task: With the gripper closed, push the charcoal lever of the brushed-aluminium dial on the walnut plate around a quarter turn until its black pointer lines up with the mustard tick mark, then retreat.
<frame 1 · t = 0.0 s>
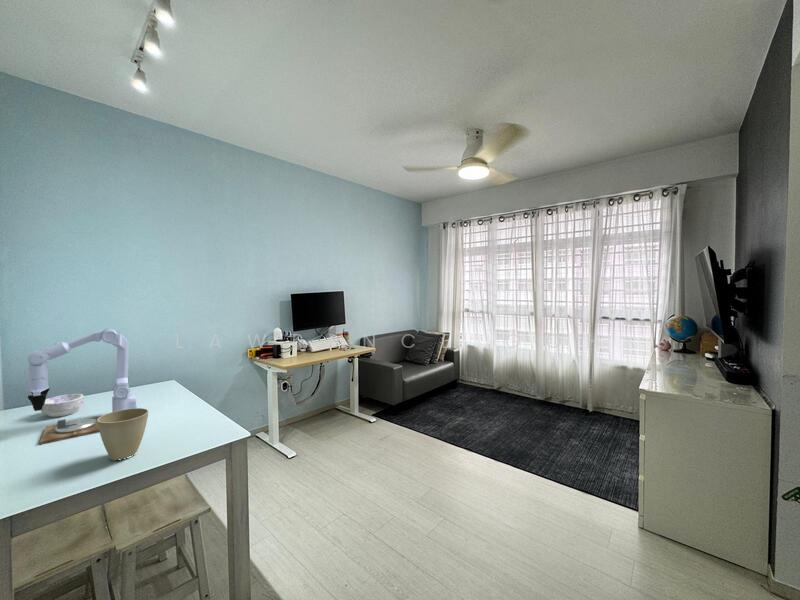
hand: (39, 408, 145), 10 cm above the table, fingers open, 7 cm apart
plate: (76, 429, 146), on the table
plant pot: (124, 456, 124), on the table
dial: (76, 422, 146), point 3 cm above the table, hinge at 0.0°
paper bowls: (63, 414, 165), on the table
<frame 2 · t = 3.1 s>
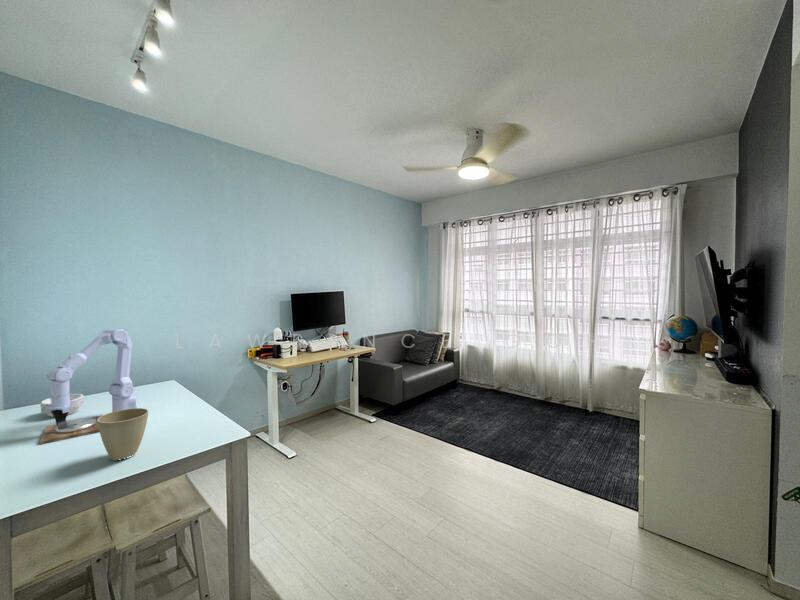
hand: (61, 425, 143), 3 cm above the table, fingers closed, pressing on dial
dial: (76, 422, 146), point 3 cm above the table, hinge at 19.9°, touching gripper
everything else where it was.
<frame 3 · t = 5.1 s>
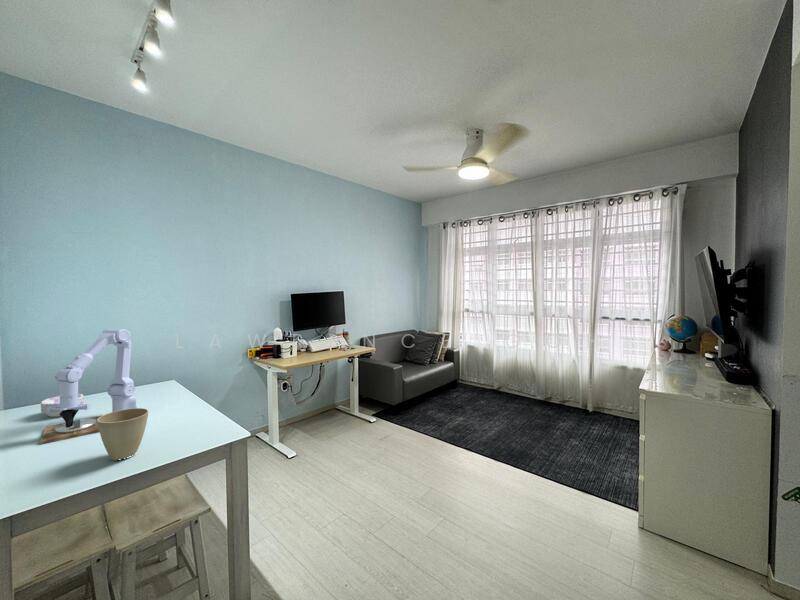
hand: (69, 426, 141), 3 cm above the table, fingers closed, pressing on dial
dial: (76, 422, 146), point 3 cm above the table, hinge at 95.6°, touching gripper
everything else where it was.
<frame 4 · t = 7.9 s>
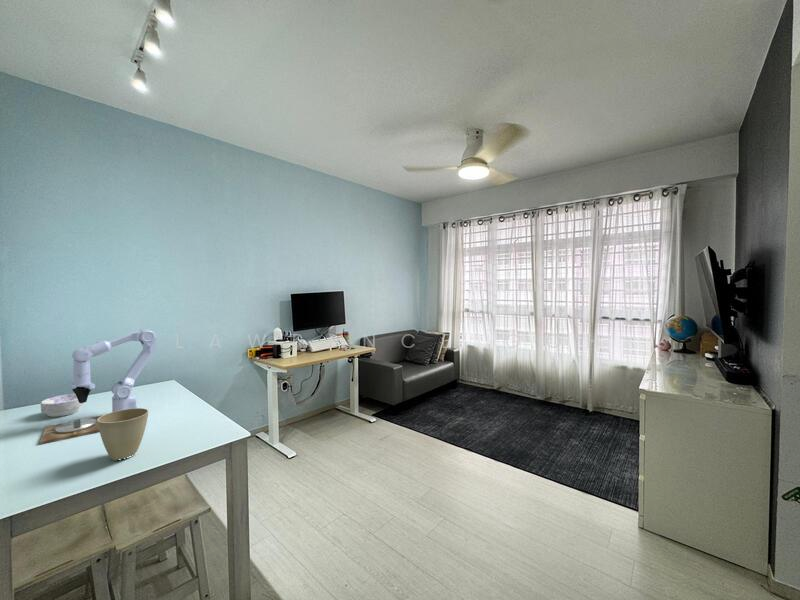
hand: (82, 402, 153), 10 cm above the table, fingers closed
dial: (76, 422, 146), point 3 cm above the table, hinge at 96.3°
everything else where it was.
at the end: dial at +96° (first picture: +0°) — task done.
